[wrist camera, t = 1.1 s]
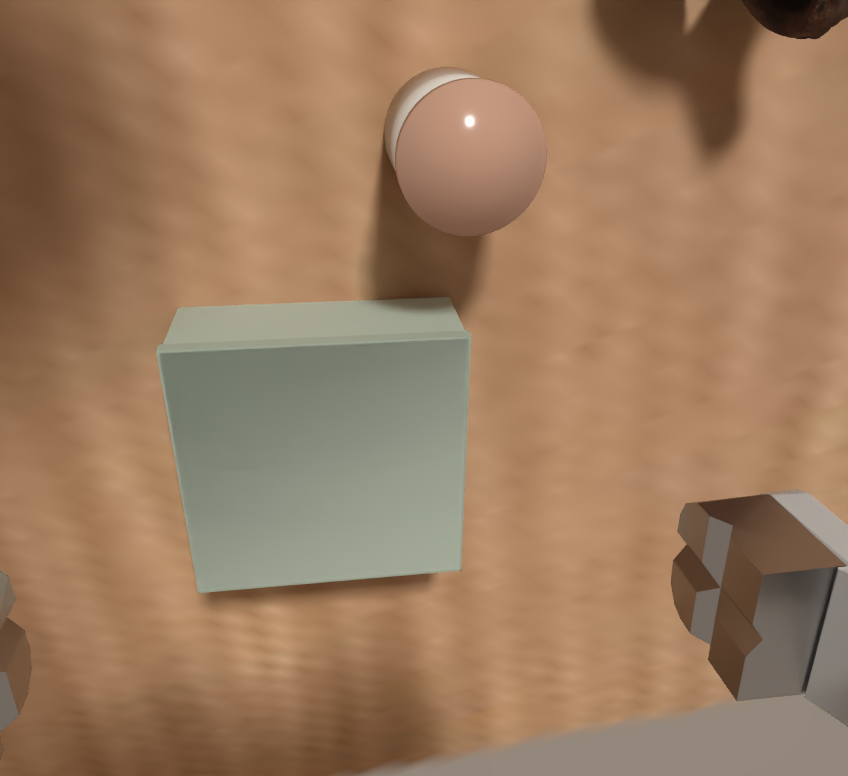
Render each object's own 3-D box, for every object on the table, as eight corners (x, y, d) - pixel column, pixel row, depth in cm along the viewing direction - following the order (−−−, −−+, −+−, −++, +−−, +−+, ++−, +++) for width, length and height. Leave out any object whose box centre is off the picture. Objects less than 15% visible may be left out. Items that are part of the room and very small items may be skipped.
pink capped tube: (378, 66, 29) (393, 82, 24) (508, 62, 30) (551, 76, 24) (384, 199, 32) (399, 240, 26) (504, 193, 32) (542, 232, 27)
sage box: (176, 303, 33) (156, 351, 28) (450, 292, 34) (470, 336, 30) (211, 524, 38) (198, 593, 34) (444, 507, 40) (461, 570, 36)
